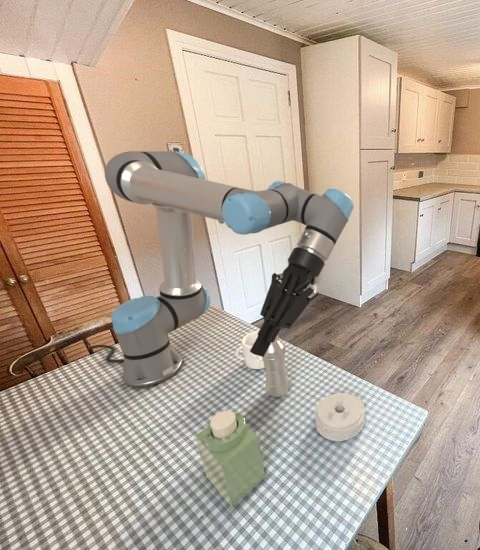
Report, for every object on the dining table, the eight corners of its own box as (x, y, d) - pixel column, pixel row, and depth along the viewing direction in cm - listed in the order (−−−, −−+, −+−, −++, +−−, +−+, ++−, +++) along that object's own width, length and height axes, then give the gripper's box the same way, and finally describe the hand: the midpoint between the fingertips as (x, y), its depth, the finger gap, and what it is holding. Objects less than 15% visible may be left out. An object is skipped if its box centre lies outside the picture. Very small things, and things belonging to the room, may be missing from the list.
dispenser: (206, 476, 64) (192, 427, 59) (238, 451, 69) (229, 403, 64) (232, 507, 58) (219, 456, 53) (265, 477, 64) (256, 427, 58)
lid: (349, 396, 85) (348, 382, 83) (374, 428, 75) (375, 412, 74) (307, 416, 79) (305, 401, 77) (329, 453, 69) (328, 437, 67)
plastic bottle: (284, 402, 83) (276, 340, 76) (262, 398, 84) (252, 337, 77) (294, 386, 89) (288, 327, 81) (273, 382, 90) (265, 324, 83)
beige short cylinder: (208, 431, 58) (205, 421, 57) (229, 416, 62) (227, 406, 61) (220, 443, 56) (217, 433, 55) (241, 427, 59) (239, 417, 58)
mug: (238, 378, 92) (233, 353, 88) (237, 358, 101) (233, 335, 97) (278, 368, 96) (275, 343, 93) (274, 350, 105) (271, 327, 102)
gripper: (280, 240, 67) (224, 338, 62) (322, 252, 60) (262, 364, 55) (301, 255, 73) (251, 345, 68) (341, 268, 66) (289, 370, 61)
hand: (256, 354), depth 62 cm, fingers closed
